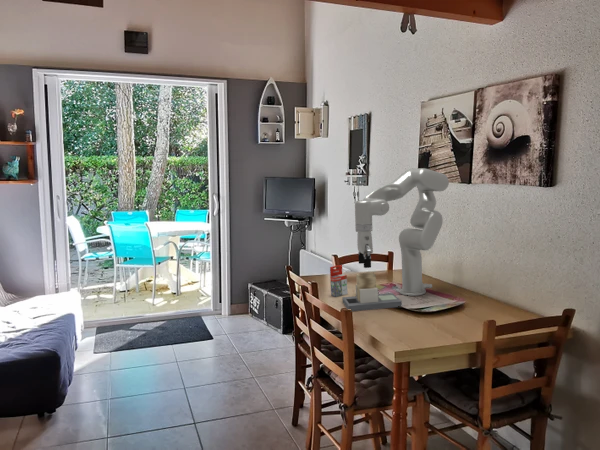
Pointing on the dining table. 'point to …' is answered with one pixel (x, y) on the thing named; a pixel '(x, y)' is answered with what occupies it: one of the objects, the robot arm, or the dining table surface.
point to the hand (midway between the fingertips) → (364, 265)
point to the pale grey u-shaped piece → (368, 295)
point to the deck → (383, 302)
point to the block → (365, 282)
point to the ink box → (338, 281)
